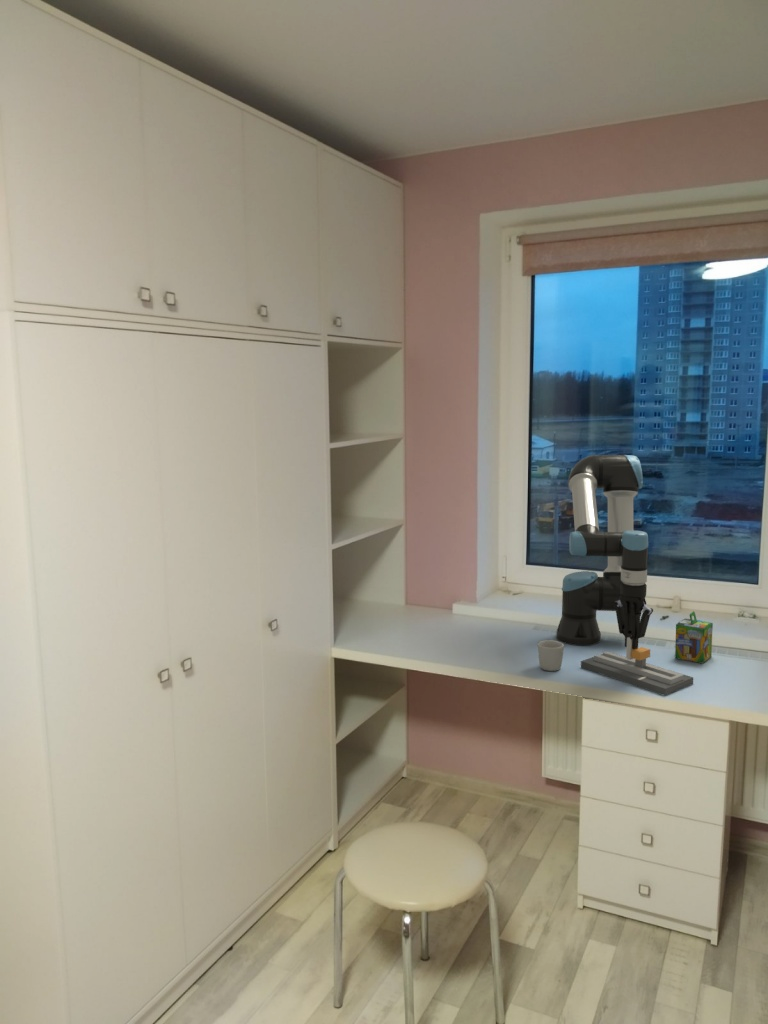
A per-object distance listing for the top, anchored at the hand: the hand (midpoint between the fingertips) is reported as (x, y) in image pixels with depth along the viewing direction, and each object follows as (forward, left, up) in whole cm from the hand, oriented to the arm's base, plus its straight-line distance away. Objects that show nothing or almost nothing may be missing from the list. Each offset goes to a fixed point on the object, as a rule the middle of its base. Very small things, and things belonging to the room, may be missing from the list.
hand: (631, 658), depth 241 cm
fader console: (+1, 0, -5) cm, 5 cm away
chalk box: (+3, +28, -5) cm, 29 cm away
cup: (-20, -14, -5) cm, 24 cm away
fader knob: (+3, 0, -3) cm, 4 cm away
